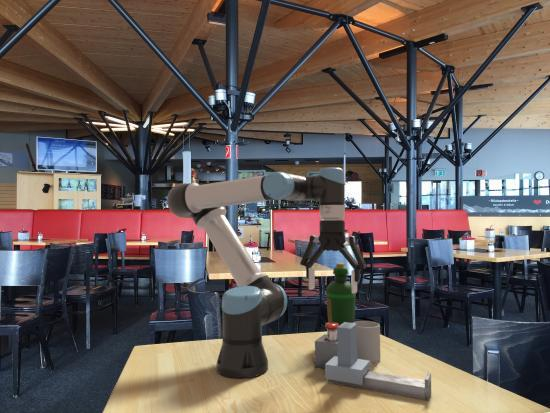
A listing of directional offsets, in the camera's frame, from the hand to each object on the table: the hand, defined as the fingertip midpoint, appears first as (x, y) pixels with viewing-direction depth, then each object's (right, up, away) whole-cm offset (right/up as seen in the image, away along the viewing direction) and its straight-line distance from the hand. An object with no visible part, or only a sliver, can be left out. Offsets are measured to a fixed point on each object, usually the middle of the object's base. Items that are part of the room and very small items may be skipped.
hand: (332, 291), depth 128 cm
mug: (+12, -23, +8) cm, 27 cm away
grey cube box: (0, -23, +1) cm, 23 cm away
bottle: (+6, -23, +23) cm, 33 cm away
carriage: (+3, -21, -12) cm, 24 cm away
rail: (+10, -22, -16) cm, 29 cm away
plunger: (0, -19, +1) cm, 19 cm away
